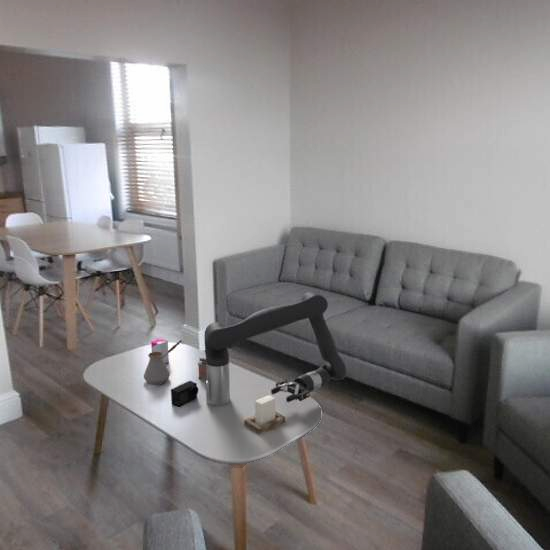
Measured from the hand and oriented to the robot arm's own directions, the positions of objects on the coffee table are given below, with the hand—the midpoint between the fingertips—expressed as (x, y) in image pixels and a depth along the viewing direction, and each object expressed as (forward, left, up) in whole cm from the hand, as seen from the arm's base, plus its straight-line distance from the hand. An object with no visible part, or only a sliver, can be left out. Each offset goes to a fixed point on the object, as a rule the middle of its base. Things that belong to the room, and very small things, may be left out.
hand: (279, 395), depth 203 cm
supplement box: (-58, +48, -9) cm, 76 cm away
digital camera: (-39, +10, -9) cm, 41 cm away
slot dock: (-5, -5, -9) cm, 12 cm away
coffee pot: (-52, +33, -9) cm, 62 cm away
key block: (-5, -5, -9) cm, 11 cm away
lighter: (-33, +32, -9) cm, 47 cm away
